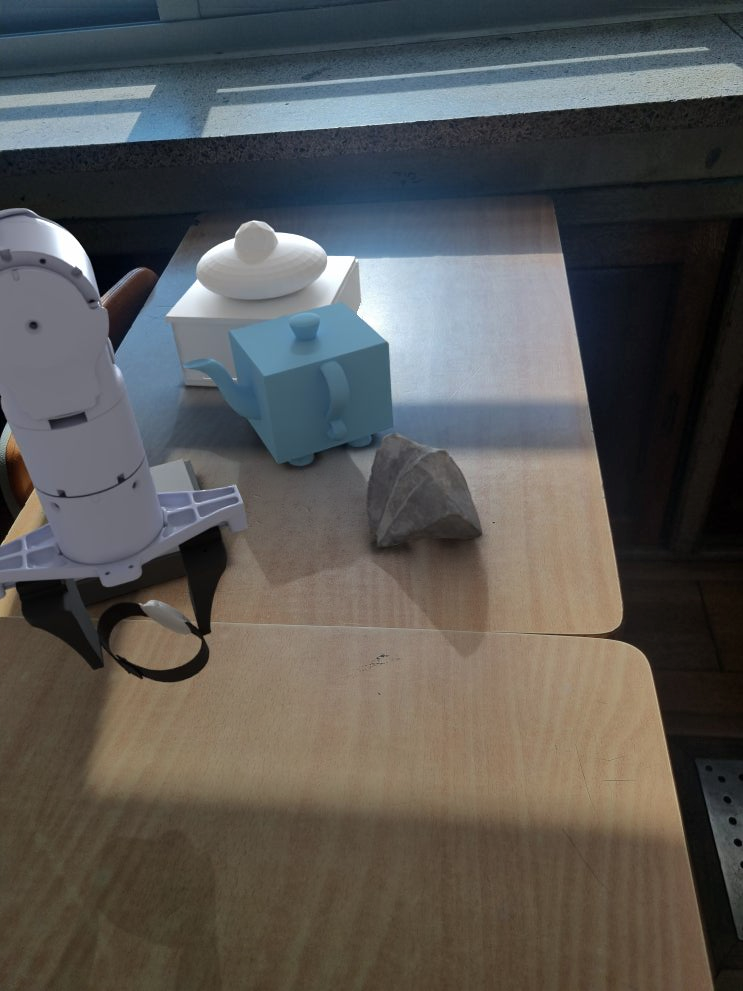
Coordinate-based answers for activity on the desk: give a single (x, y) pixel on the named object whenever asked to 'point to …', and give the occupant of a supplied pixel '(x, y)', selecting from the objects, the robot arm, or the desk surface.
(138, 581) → the scale
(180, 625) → the watch
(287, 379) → the teapot
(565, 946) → the desk surface
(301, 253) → the butter dish
